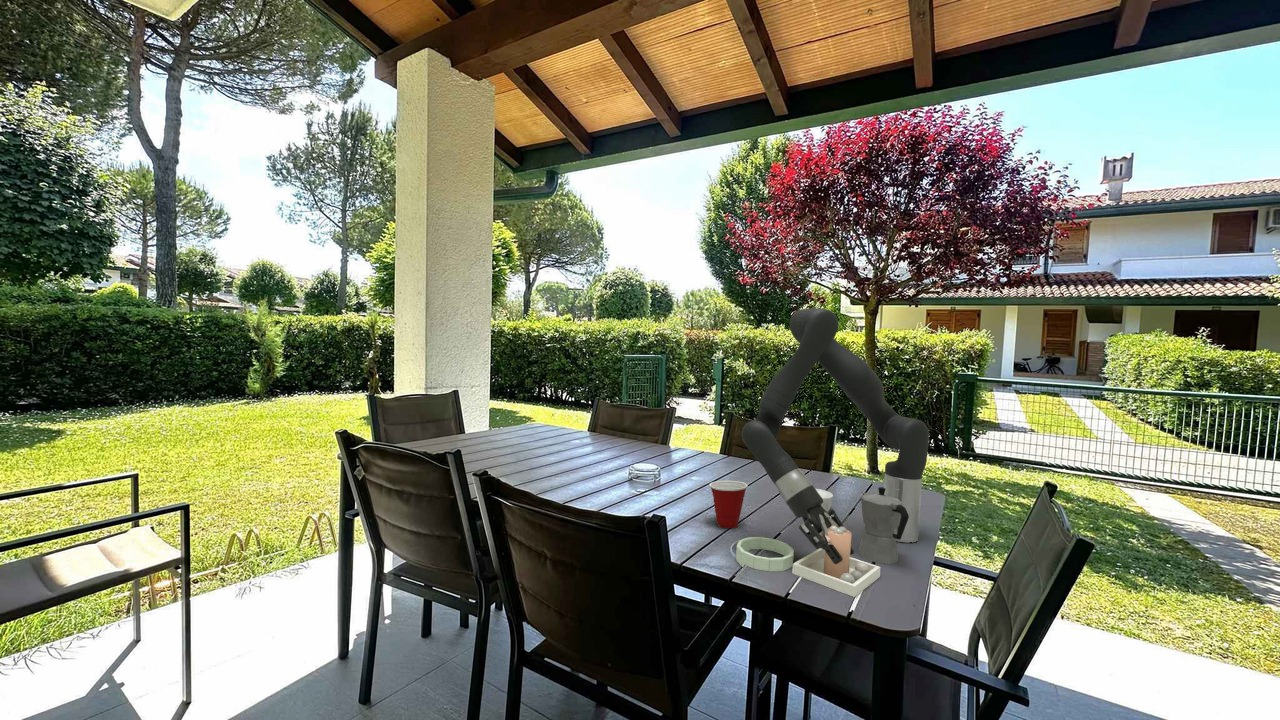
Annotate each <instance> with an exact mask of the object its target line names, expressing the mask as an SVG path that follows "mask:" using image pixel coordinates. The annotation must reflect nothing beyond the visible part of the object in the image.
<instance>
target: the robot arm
mask: <svg viewBox="0 0 1280 720" xmlns="http://www.w3.org/2000/svg"><path fill="white" fill-rule="evenodd" d="M789 329H790V332H791V335H792V336H793V338H794V339H795V340H796V341H797V342H798V343H799V346H798V347H797V348H796V351H795V352H794V354H793V355H792V356H791V358H790V359H789V360H788V361H787V362H786V363H785V364H784V365H783V366H782V367H781V368H780V369H779V370H778V371H777V373H776V374H775V375H774V376H773V378H772V379H771V380H770V382H769V383H768V386H767V388H766V389H765V390H764V394H763V395H762V397H761V398H760V399H761V400H760V402H759V404H758V409H759V411H758V414H757V416H756V418H755V420H751V421H748V422H747V423H745V424H744V426H743V427H742V430H741V439H742V442H743V443H744V445H745V446H746V448H747V449H748V450H749V451H750V453H751V454H752V455H753V457H754V458H755V459H756V460H757V462H759V464H761V466H762V467H763V469H764V471H765V473H766V475H768V477H769V478H770V480H771V481H772V483H773V484H774V485H775V486H774V487H776V489H777V491H778V493H779V495H780V496H781V497H782V499H783V500H784V502H785V503H786V505H787V506H788V507H789V510H790V511H791V512H792V514H793V515H794V516H795V518H797V519H800V518H801V519H802V520H803V523H802V524H801V525H798V528H799V530H800V531H801V533H802V535H804V536H805V538H807V540H808V541H809V542H810V543H811V545H813V547H814V548H815V549H816V550H818V549H820V548H821V549H822V550H825V552H826V553H827V554H828V556H829V557H830V559H831V560H832V561H833V563H834V564H838V563H839V562H841V561H842V560H843V558H842V556H841V555H840V554H839V552H838V551H837V549H836V548H835V547H834V545H833V544H832V543H831V540H830V538H829V537H828V532H829V531H828V528H830V527H831V526H836V527H845V526H844V525H843V523H842V521H841V519H840V518H839V516H838V515H837V513H836V511H835V510H834V509H832V508H830V510H829V511H826V510H825V509H824V508H823V507H822V506H821V504H822V503H823V499H822V497H821V496H820V495H819V493H818V492H817V490H816V489H817V488H815V487H814V485H813V483H812V482H811V481H810V479H808V477H807V476H806V474H805V473H804V472H803V471H802V470H801V469H800V468H799V466H798V465H797V463H795V461H794V460H793V458H792V456H790V454H789V453H787V452H786V450H784V449H783V448H782V446H781V445H780V444H779V442H778V441H777V438H778V435H779V433H780V430H781V428H782V424H783V422H784V419H785V416H786V414H787V413H788V411H789V409H790V407H791V405H792V403H793V402H794V399H795V398H796V396H797V393H798V391H799V390H800V388H801V387H802V384H803V383H804V381H805V379H806V378H807V377H808V375H809V374H810V372H811V371H812V369H813V368H814V367H815V365H816V363H817V362H819V363H820V365H821V366H822V367H823V368H824V370H825V371H826V373H827V374H828V375H829V376H830V377H831V378H832V379H833V381H835V382H836V384H837V385H838V387H839V388H840V389H841V390H842V391H843V392H844V394H845V395H846V396H847V397H848V399H850V400H851V401H852V402H853V404H854V405H855V406H856V408H858V410H859V411H860V412H861V413H862V414H863V415H864V416H865V417H866V419H867V420H868V421H869V423H870V424H871V425H872V427H873V430H875V432H876V433H877V435H878V436H879V438H880V439H881V440H882V442H883V443H884V444H886V445H887V446H888V447H890V448H891V449H895V450H899V451H898V455H897V456H898V457H897V459H896V460H891V461H887V462H886V463H885V464H884V465H885V466H884V480H883V481H884V482H883V488H885V489H886V490H885V493H884V495H887V496H890V497H894V498H897V499H898V500H900V501H901V502H902V503H903V504H902V506H904V507H905V508H906V511H907V513H908V515H909V519H908V521H907V524H906V527H905V529H904V532H903V535H902V537H901V539H900V540H898V539H896V542H899V543H907V544H909V543H910V542H912V543H916V541H917V542H918V540H919V535H920V519H921V517H920V516H921V502H922V483H923V473H924V470H926V469H925V468H926V466H927V461H928V451H929V445H930V444H929V442H930V433H929V432H930V431H929V428H928V426H927V424H926V423H925V422H923V421H922V420H919V419H917V418H912V417H911V418H910V417H907V416H901V415H900V414H899V413H897V412H896V411H895V410H894V409H893V408H892V407H891V405H889V404H888V402H887V401H886V399H885V391H884V389H885V388H884V385H883V382H882V380H881V379H880V378H879V376H878V374H876V372H875V371H874V370H873V368H872V367H871V366H870V365H869V364H868V363H867V362H866V361H865V360H863V359H862V358H861V357H859V356H858V355H857V354H856V353H854V352H852V351H851V350H849V349H848V348H847V347H844V346H843V345H842V344H840V343H839V342H838V341H837V340H836V339H835V337H836V334H837V332H838V331H839V320H838V317H837V315H836V314H835V313H834V312H833V311H832V310H831V309H827V308H824V307H823V308H820V307H819V308H818V307H817V308H816V307H815V308H814V307H812V308H809V307H808V308H800V309H799V310H796V311H795V312H794V313H793V314H792V315H791V317H790V320H789ZM900 518H901V514H900V516H899V521H898V525H897V528H898V526H899V524H900ZM897 528H896V529H895V530H894V534H897ZM831 544H832V545H831ZM854 554H855V550H854V549H853V547H852V546H851V552H850V556H851V555H854Z"/></svg>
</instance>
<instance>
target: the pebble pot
mask: <svg viewBox="0 0 1280 720" xmlns="http://www.w3.org/2000/svg"><path fill="white" fill-rule="evenodd" d="M828 531H829V532H828V537H829V538H830V540H831V543H832V544H833V545H834V547H835V548H836V549H837V551H838V552H839V554H840V555H841V556H842V558H843V560H842V561H841V562H839V563H838V564H834V563H833V561H832V560H831V559H830V557H829V556H828V554H827V553H826V552H825V553H824V571H823V573H824V574H827V575H829V576H832V577H835V578H838V579H840V577H841V575H842V574H844V573H849V569H850V557H851V555H850V552H851V547H852V531H850V530H848V529H847V528H846V527H845V526H844V527H839V526H838V527H836V526H831V527H830V528H828ZM832 544H831V545H832Z"/></svg>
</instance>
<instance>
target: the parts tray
mask: <svg viewBox="0 0 1280 720" xmlns="http://www.w3.org/2000/svg"><path fill="white" fill-rule="evenodd" d="M824 553H825V550H822V549H821V548H819V549H816V550H814V551H813V552H811V553H809V554H808V555H805V556H804V557H802V558H801V559H798V560H797V561H795V562H793V566H792V570H791V571H792V575H795V576H798V577H799V578H802V579H805V580H808V581H811V582H813V583H815V584H819V585H821V586H823V587H826V588H828V589H832V590H834V591H837V592H840V593H843V594H844V595H847V596H850V597H853V598H855V597H856V596H858V595H859V594H860V593H861V592H863V591H864V590H865V589H866V588H868V587H869V586H871V585H872V584H873V583H875V581H877V579H879V578H880V577H881V566H878V565H875V564H873V563H869V562H866V561H863V560H859V559H857V558H854V557H851V556H850V569H849V573H844V574H842V575H841V577H840V579H838V578H835V577H832V576H829V575H827V574H824V573H823V571H824Z"/></svg>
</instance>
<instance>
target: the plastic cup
mask: <svg viewBox="0 0 1280 720" xmlns="http://www.w3.org/2000/svg"><path fill="white" fill-rule="evenodd" d="M709 488H710V490H711V493H712V497H713V503H714V511H715V519H716V525H717V526H718V525H719V526H718V527H720V528H724V529H736V528H737V527H738V525H739V522H740V521H739V520H740V517H741V512H742V508H743V503H744V497H745V494H746V490H747V488H748V484H747V483H746V482H743V481H739V480H716V481H712V482H710V483H709Z"/></svg>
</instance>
